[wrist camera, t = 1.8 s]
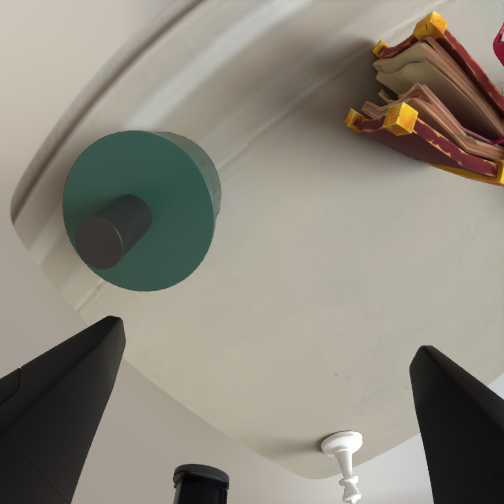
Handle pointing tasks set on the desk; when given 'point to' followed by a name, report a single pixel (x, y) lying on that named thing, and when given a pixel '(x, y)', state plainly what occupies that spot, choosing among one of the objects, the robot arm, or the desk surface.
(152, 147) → the pot lid
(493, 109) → the book monster
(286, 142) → the desk surface
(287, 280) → the desk surface
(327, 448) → the chess piece
